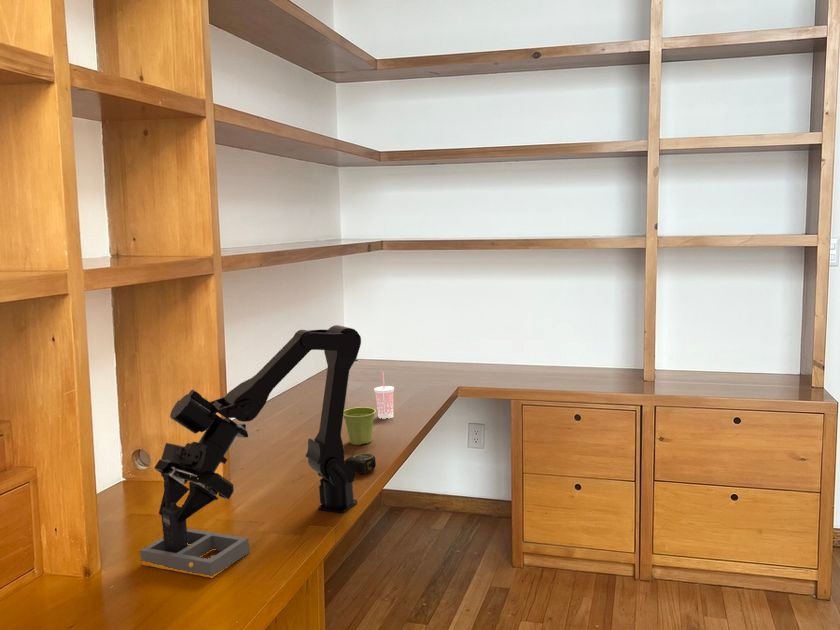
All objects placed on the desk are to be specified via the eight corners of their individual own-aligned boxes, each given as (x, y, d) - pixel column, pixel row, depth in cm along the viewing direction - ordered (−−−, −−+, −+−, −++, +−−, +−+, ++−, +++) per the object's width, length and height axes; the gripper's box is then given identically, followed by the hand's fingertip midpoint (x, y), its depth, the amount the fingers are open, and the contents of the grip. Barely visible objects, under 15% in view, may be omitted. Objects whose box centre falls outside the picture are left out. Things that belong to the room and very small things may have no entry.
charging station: (249, 553, 149) (248, 538, 149) (210, 580, 139) (208, 564, 138) (181, 541, 156) (180, 527, 156) (139, 566, 146) (137, 551, 145)
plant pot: (382, 437, 219) (380, 407, 218) (371, 447, 210) (369, 416, 209) (351, 436, 222) (349, 406, 221) (338, 446, 213) (336, 415, 212)
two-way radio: (162, 556, 150) (154, 481, 148) (183, 548, 153) (176, 474, 151) (176, 564, 146) (168, 487, 144) (198, 556, 149) (190, 480, 147)
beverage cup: (396, 413, 243) (394, 369, 242) (394, 419, 237) (391, 374, 236) (377, 414, 244) (374, 370, 242) (374, 419, 238) (371, 374, 236)
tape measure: (342, 472, 192) (341, 458, 192) (362, 464, 197) (361, 450, 197) (362, 477, 188) (361, 462, 187) (382, 469, 193) (381, 454, 193)
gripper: (158, 418, 155) (112, 489, 148) (215, 432, 143) (167, 509, 136) (195, 446, 162) (153, 515, 155) (253, 461, 150) (209, 536, 143)
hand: (169, 518), depth 147 cm, fingers closed on two-way radio, 5 cm apart
